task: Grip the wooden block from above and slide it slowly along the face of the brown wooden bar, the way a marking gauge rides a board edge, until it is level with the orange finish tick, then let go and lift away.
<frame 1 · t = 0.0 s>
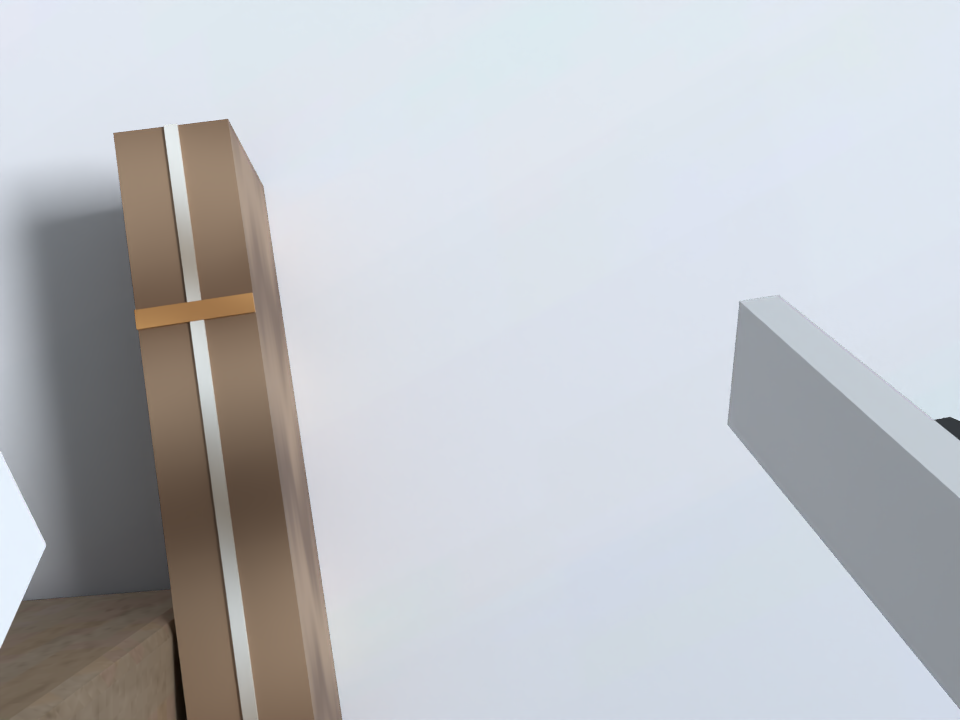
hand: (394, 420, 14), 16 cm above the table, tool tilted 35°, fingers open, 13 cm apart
brown wooden bar: (261, 498, 29), on the table
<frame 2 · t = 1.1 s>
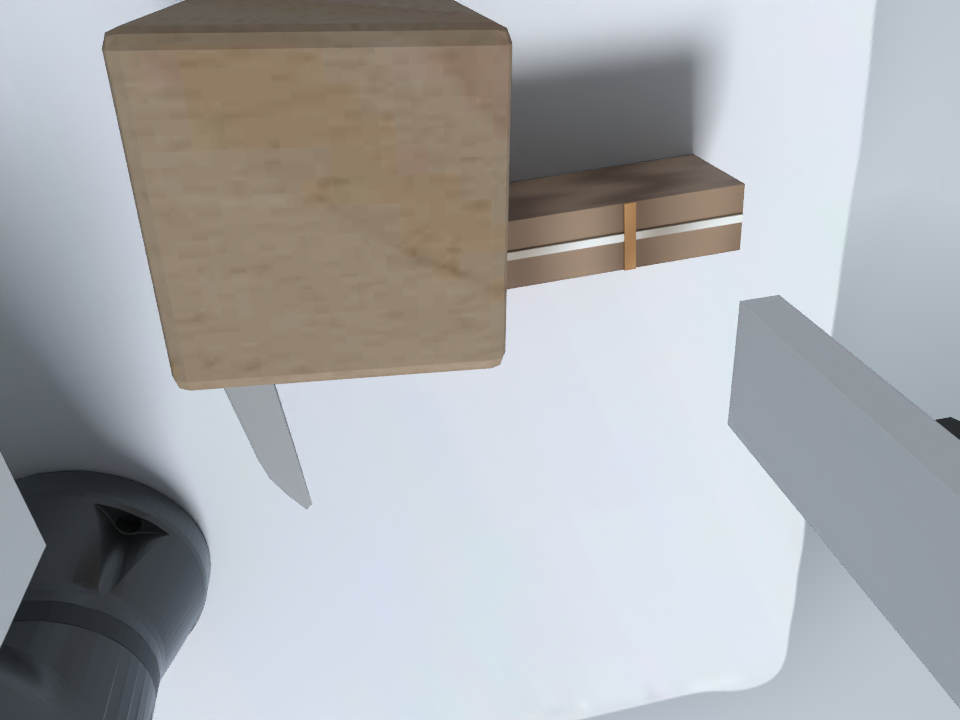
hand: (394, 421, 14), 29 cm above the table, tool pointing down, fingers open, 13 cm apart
brown wooden bar: (488, 216, 43), on the table
wooden block: (334, 95, 38), on the table
chef's knife: (257, 406, 46), on the table
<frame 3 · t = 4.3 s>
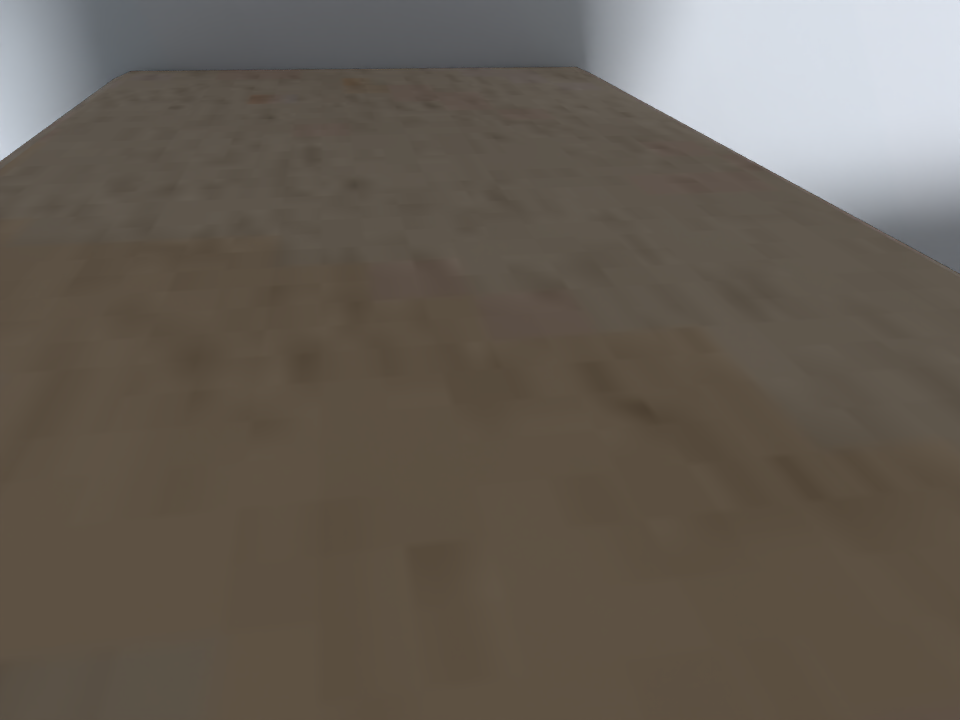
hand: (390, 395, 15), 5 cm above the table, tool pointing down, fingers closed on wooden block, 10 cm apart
wooden block: (374, 281, 19), on the table, touching gripper
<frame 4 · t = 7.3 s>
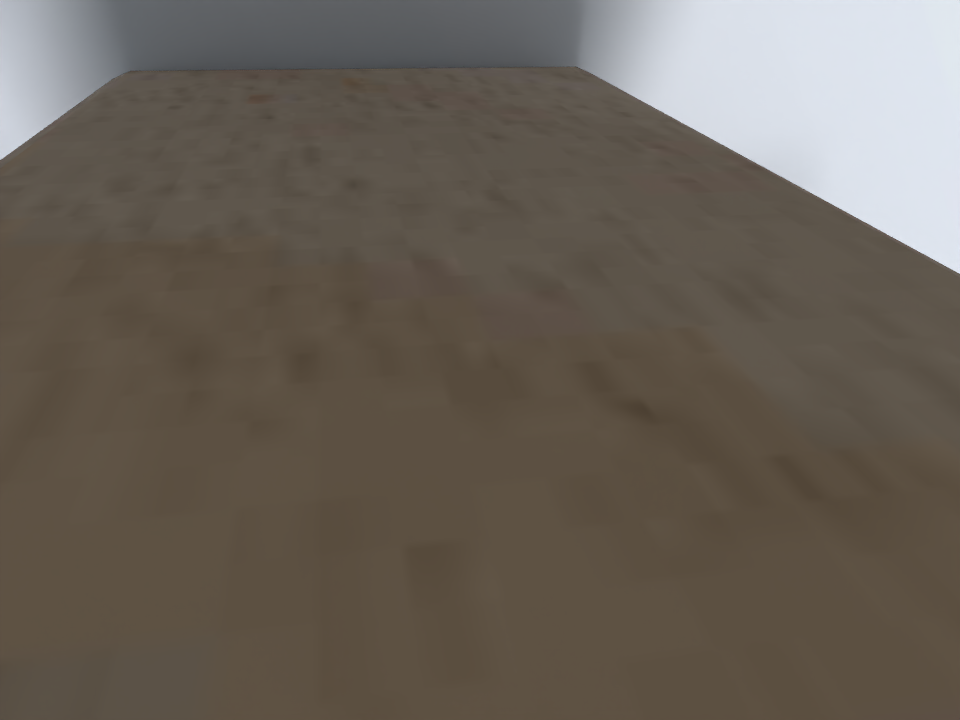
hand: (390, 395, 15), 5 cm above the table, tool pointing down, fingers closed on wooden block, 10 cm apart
wooden block: (373, 281, 19), on the table, touching gripper
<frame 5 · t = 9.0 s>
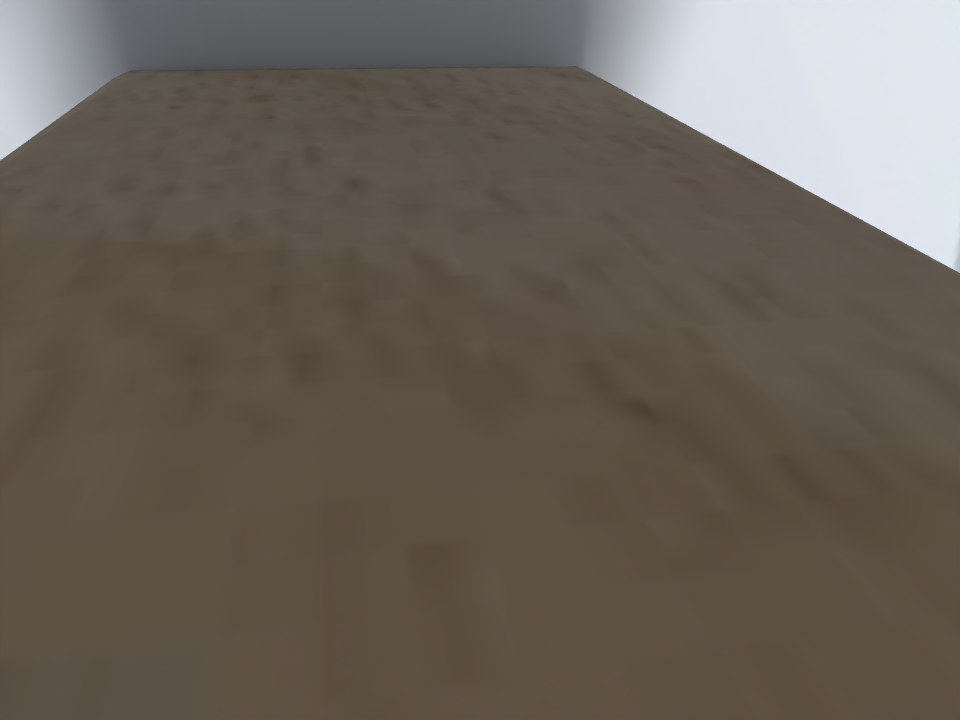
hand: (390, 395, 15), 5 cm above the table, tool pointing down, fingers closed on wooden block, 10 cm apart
wooden block: (374, 281, 19), on the table, touching gripper
when the fingers open (5 cm above the table, at t = 10.2 s): wooden block stays where it is, on the table.
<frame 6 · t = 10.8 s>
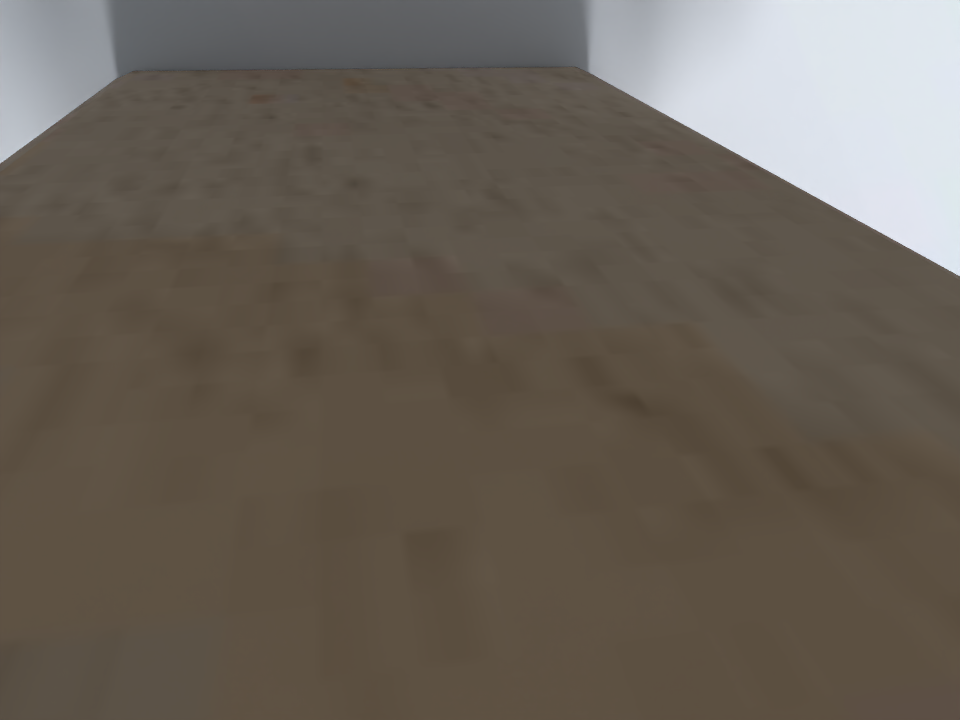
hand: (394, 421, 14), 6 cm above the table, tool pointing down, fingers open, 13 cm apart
wooden block: (374, 280, 19), on the table
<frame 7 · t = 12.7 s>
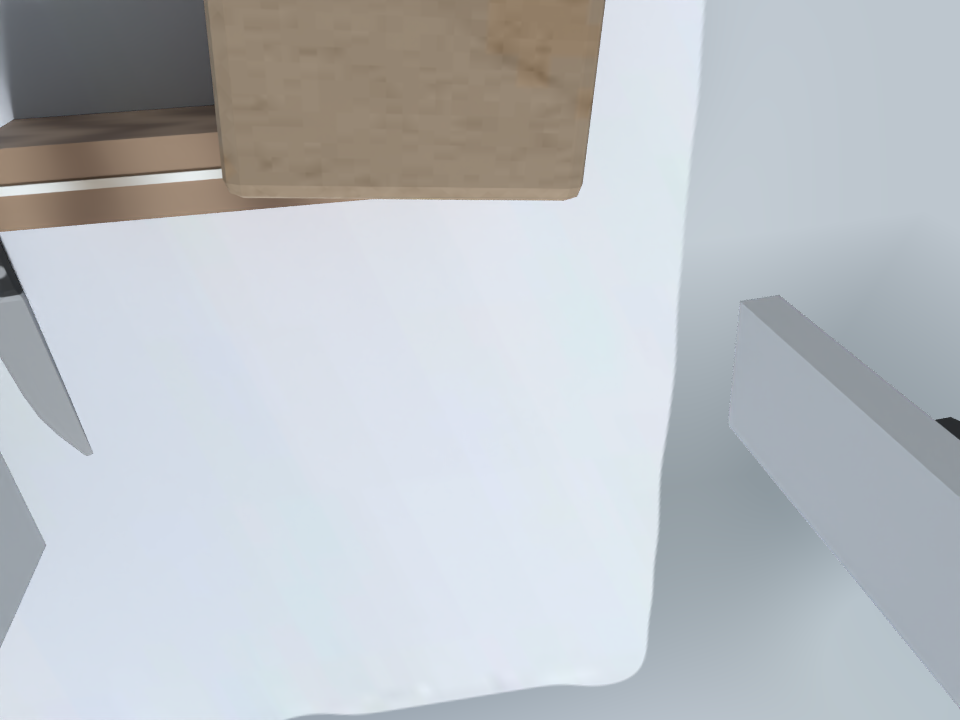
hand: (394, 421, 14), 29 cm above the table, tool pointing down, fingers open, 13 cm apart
brown wooden bar: (275, 136, 39), on the table
chef's knife: (18, 335, 43), on the table
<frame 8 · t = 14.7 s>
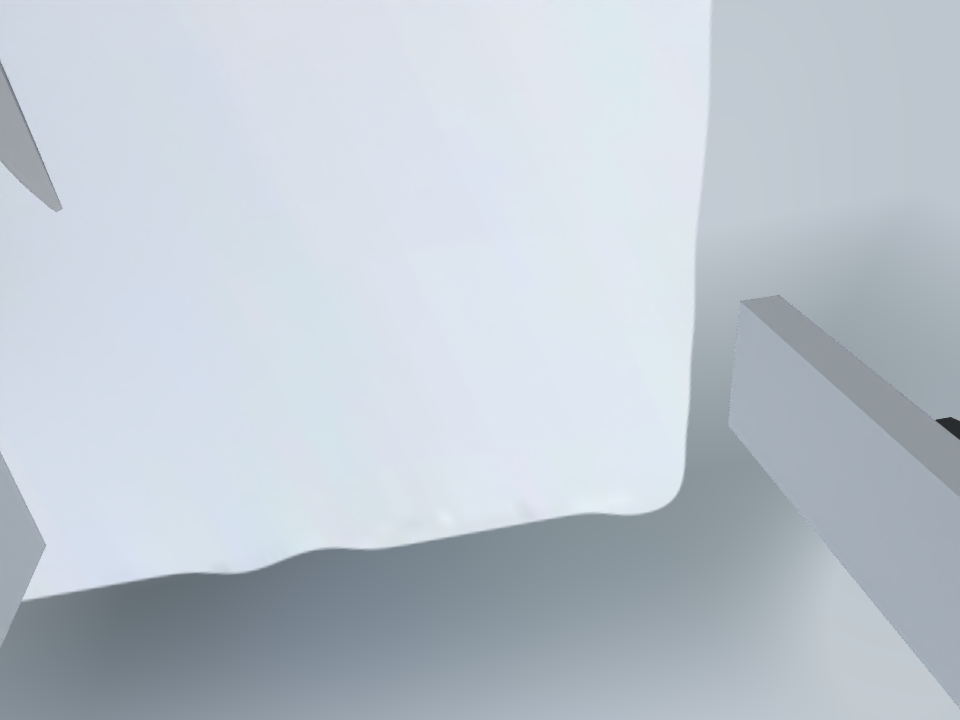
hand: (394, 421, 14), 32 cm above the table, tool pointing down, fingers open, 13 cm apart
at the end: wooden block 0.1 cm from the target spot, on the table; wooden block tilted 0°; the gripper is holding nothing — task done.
